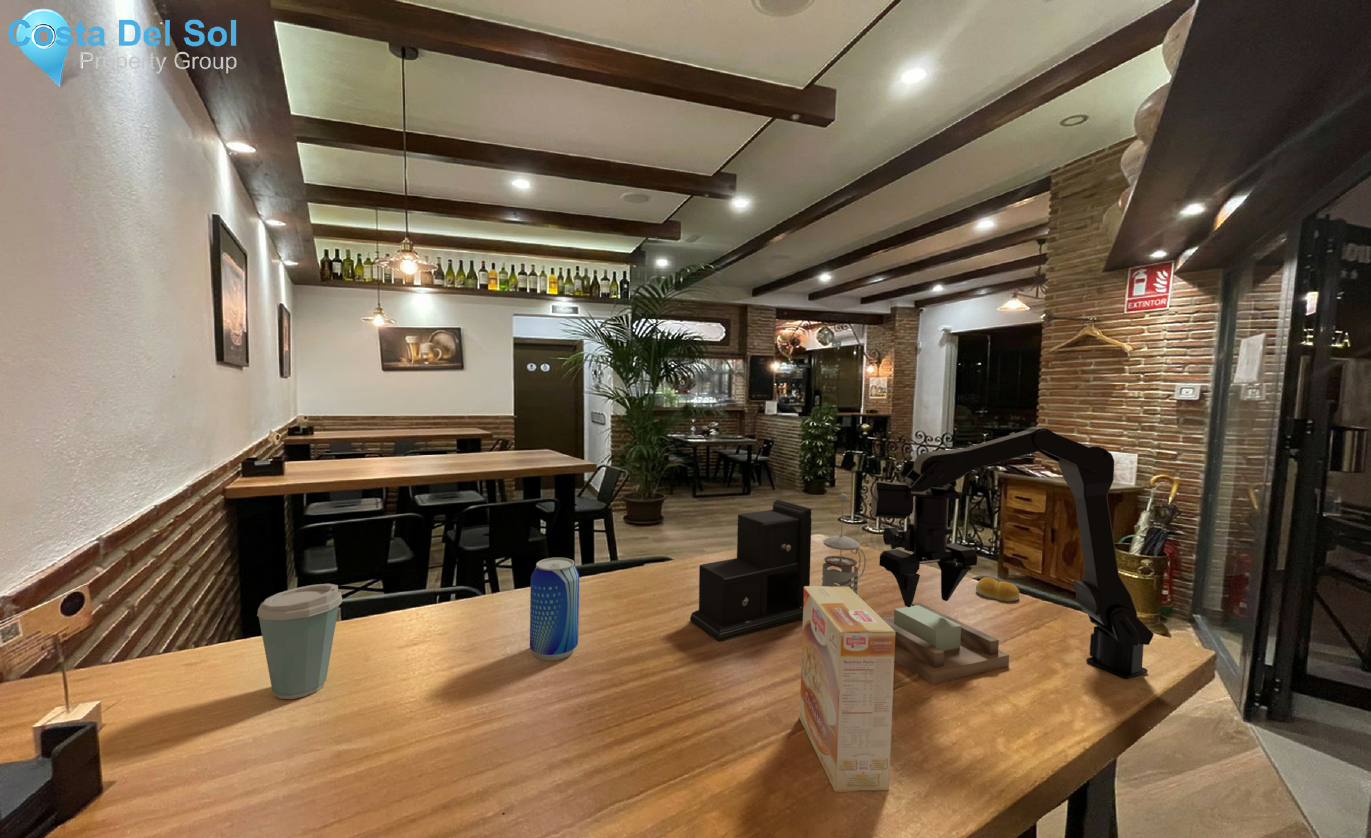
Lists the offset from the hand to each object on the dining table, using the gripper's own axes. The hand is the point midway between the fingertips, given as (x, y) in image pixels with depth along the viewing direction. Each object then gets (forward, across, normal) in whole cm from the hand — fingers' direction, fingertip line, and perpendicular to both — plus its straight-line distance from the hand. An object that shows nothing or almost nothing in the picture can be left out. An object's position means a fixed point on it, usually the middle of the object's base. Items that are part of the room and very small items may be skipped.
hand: (926, 603), depth 100 cm
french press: (+9, 0, -24) cm, 26 cm away
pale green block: (+7, 0, 0) cm, 7 cm away
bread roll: (+9, -39, -15) cm, 43 cm away
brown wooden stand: (+9, 0, 0) cm, 9 cm away
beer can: (+9, +65, -22) cm, 69 cm away
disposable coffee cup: (+9, +103, -23) cm, 106 cm away
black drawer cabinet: (+9, +25, -22) cm, 34 cm away
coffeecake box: (+9, +34, +18) cm, 39 cm away
